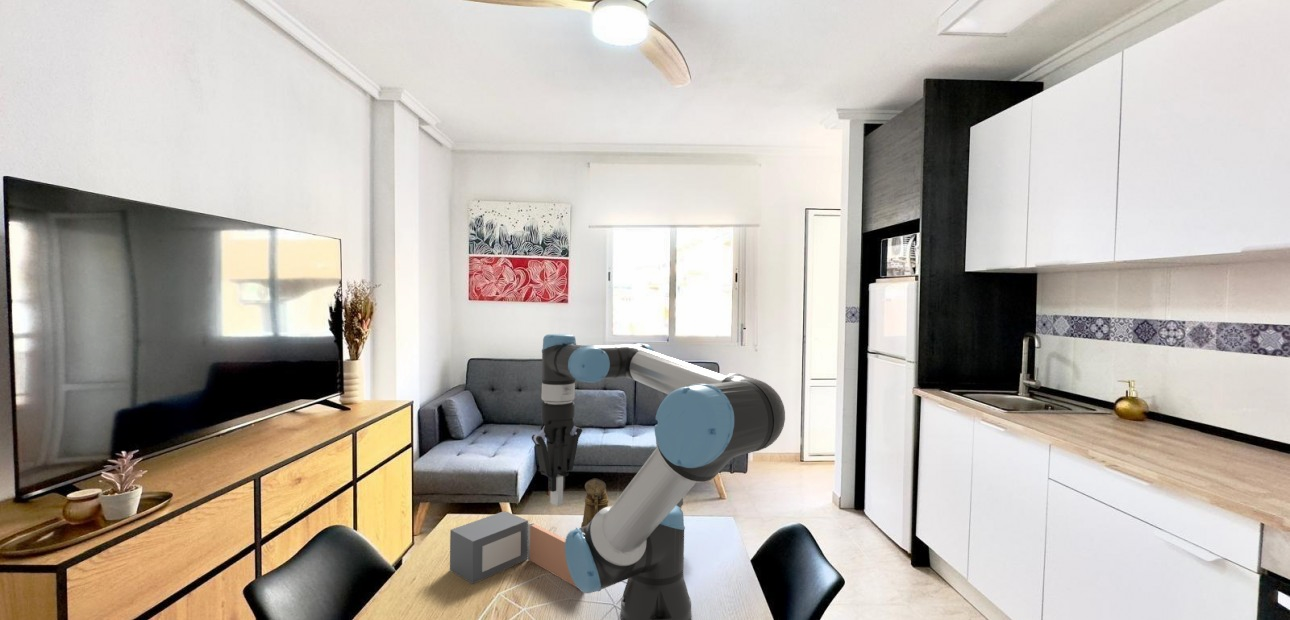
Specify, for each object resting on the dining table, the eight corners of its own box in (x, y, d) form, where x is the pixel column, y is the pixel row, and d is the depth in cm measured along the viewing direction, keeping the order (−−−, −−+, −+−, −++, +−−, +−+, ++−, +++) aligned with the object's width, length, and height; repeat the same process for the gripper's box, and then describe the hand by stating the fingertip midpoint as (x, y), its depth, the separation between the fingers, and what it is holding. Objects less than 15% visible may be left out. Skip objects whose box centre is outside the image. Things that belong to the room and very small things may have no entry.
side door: (531, 556, 132) (531, 522, 132) (586, 587, 118) (586, 548, 118) (526, 558, 131) (526, 523, 131) (580, 590, 116) (581, 551, 116)
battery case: (528, 559, 132) (528, 520, 132) (473, 584, 119) (474, 541, 119) (504, 547, 138) (504, 510, 138) (449, 570, 126) (450, 529, 126)
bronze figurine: (577, 542, 142) (578, 478, 142) (582, 523, 155) (582, 464, 155) (609, 542, 142) (610, 478, 142) (611, 522, 156) (612, 464, 156)
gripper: (544, 407, 109) (542, 516, 109) (590, 400, 119) (588, 500, 119) (524, 402, 114) (522, 507, 114) (570, 396, 124) (568, 492, 124)
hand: (556, 503), depth 117 cm, fingers closed
